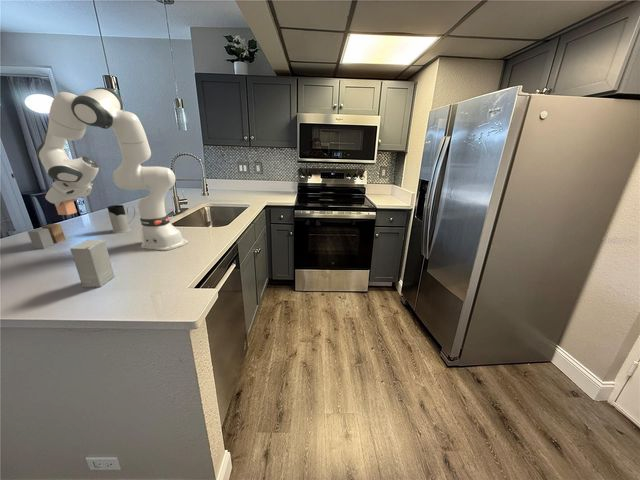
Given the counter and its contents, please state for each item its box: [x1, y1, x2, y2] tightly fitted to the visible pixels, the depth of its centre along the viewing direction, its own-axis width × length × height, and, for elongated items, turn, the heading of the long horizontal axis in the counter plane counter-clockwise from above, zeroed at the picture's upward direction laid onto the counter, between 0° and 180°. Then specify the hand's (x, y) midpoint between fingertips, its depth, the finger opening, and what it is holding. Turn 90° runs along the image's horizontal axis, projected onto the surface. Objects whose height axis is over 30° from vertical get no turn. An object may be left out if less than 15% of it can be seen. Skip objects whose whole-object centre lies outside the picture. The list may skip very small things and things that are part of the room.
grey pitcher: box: [107, 204, 137, 234], centre depth 154 cm, size 9×14×15 cm, turn 152°
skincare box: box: [69, 239, 115, 288], centre depth 94 cm, size 8×7×16 cm
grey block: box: [27, 227, 55, 250], centre depth 128 cm, size 5×5×9 cm
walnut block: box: [41, 223, 67, 244], centre depth 136 cm, size 5×5×9 cm
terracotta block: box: [54, 199, 78, 216], centre depth 132 cm, size 5×5×9 cm
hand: (63, 203), depth 132 cm, fingers closed on terracotta block, 5 cm apart
